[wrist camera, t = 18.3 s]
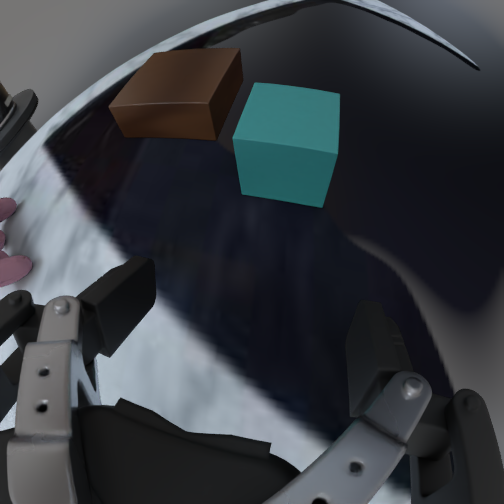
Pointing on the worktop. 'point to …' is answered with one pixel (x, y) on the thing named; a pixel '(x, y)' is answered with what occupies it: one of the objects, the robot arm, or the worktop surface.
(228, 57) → the brown block
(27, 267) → the video game controller
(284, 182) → the square toy
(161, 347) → the worktop surface
